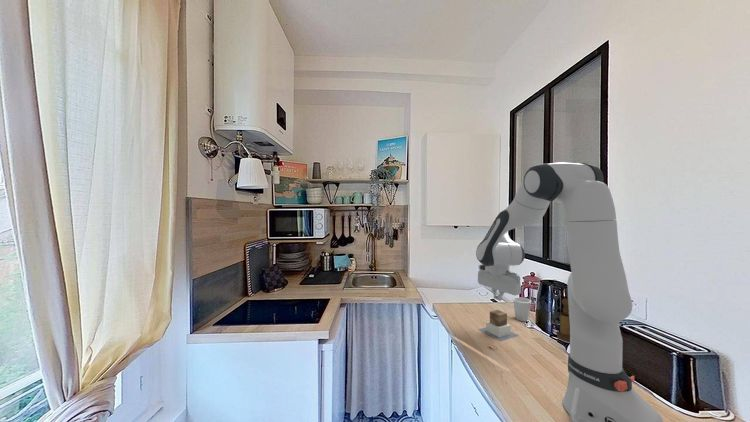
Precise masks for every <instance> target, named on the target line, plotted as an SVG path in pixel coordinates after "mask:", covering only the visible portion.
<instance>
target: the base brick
mask: <svg viewBox="0 0 750 422" xmlns="http://www.w3.org/2000/svg"><path fill="white" fill-rule="evenodd" d="M485 324H486V326H485V328H486V331H488V332H490V333H492V334H494V335H496V336H498V337H503V336H506V335H510V331H511V324H508V323H507V325H504V326H500V327H498V326H496V325H494V324H492V323H490V320H489V321H486V323H485Z"/></svg>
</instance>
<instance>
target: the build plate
mask: <svg viewBox="0 0 750 422" xmlns="http://www.w3.org/2000/svg"><path fill="white" fill-rule="evenodd" d="M477 330H478V331H480V332H481V333H484V334H485V335H487V336H490V337H491V338H493V339H495V340H497V341H499V342H503V341H507V340H510V339H513V338H516V337H519V336H520V334H517V333H515V332H513V331H511V330H510V335H506V336H503V337H498V336H496V335H494V334H492V333H490V332H488V331H486V327H482V328H480V329H479V328H478V329H477Z"/></svg>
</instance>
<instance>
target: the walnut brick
mask: <svg viewBox="0 0 750 422" xmlns="http://www.w3.org/2000/svg"><path fill="white" fill-rule="evenodd" d="M489 321H490V323H492V324H494V325H496V326H498V327H500V326H504V325H507V324H508V313H507V312H505V311H501V310H499V309H495V310H491V311H489Z"/></svg>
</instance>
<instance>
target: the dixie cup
mask: <svg viewBox="0 0 750 422" xmlns="http://www.w3.org/2000/svg"><path fill="white" fill-rule="evenodd" d="M512 302H513V306H514V307H513V308H514V315H515V320H517V321H520V322H528V321H529V317H530V311H531V310H530V309H531V303H532V300H530V299H529V298H527V297H517V296H516V297H515V296H514V297H513V298H512ZM527 320H528V321H527Z"/></svg>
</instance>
